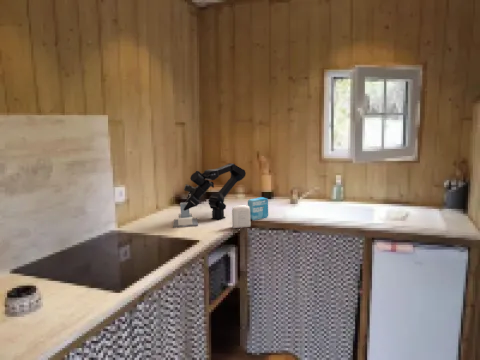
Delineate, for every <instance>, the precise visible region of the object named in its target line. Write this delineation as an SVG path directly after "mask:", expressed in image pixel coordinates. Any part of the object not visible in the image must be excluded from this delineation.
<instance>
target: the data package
mask: <svg viewBox="0 0 480 360" xmlns="http://www.w3.org/2000/svg"><path fill="white" fill-rule="evenodd" d="M247 206H249V207H250V220H252V221H256V220H257V221H258V220H260V219H267V218H268V217H269V199H268V197H263V196H262V197H257V198H251V199H248V201H247Z"/></svg>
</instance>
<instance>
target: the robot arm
mask: <svg viewBox="0 0 480 360" xmlns="http://www.w3.org/2000/svg"><path fill="white" fill-rule="evenodd" d="M226 173H230V178H228V180H227V181H226V183H224V185H223V186H222V187H221V188H220V190H219V191H218V192H213V193H212V194H211V195H210V196H209V199H208V201H207V202H208V205H209V208H210V209H211V210H212V211H211V216H212V217H211V218H210V219H211V220H217V221H221V220H223V219H225V218H226V216H225V210H226V207H227V204H225V198H226V196H227V195H228V194H229V193H230V191H231V190H232V189H233V188H234V187H235V185H236V184H237V183H238V182H240V181H242V180H243V179H244V178H245V177H246V173H247V172H246V170H245V169H243V168H242V167H240V166H238V165H236V164H235V163H227V164H225V165H222V166H220V167H216V168H213V169H212V168H211V169H206V170H204V171H203V172H202V173H201V172H200V171H199V170H195V172H193V173H192V174H191V175H190V177H189V178H190V181H191V182H192V183H194V184H196V185H197V186H195V187H194V186H192V185H190V184H185V185H184V188H183V190H184V191H185V192H188V193H187V199H186V201H185V202H188V203H187V204H186V206H185V208H184V209H183V210H184V211H185V210H187V209H189V210H190V209H191V208H194V207H197V206H198V205H199V203H200V199H201V197H203V196H204V195H206V192H207V191H208V190H209V189H210V188H215V186H214V185H215V183H214V182H213V181H215V180H217V179H218V178H219V176H221V175H224V174H226Z"/></svg>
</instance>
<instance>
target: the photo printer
mask: <svg viewBox="0 0 480 360" xmlns="http://www.w3.org/2000/svg"><path fill="white" fill-rule="evenodd" d="M231 219H232V220H231V221H232V224H231V225H232V228H233V229H236V228H237V229H238V228H251V219H250V207H249V206H248V205H245V204H244V205H243V204H241V205H240V204H239V205H235V206H232V209H231Z"/></svg>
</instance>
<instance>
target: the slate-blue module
mask: <svg viewBox="0 0 480 360" xmlns="http://www.w3.org/2000/svg"><path fill="white" fill-rule="evenodd" d="M187 203H188V202H186V201H185V202H180V203H179V204H180V205H179V206H180V214H181V218H187V217H190V213H191V212H190V209H187V210H185V211H184V210H183V209H184V208H185V206H186V204H187Z"/></svg>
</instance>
